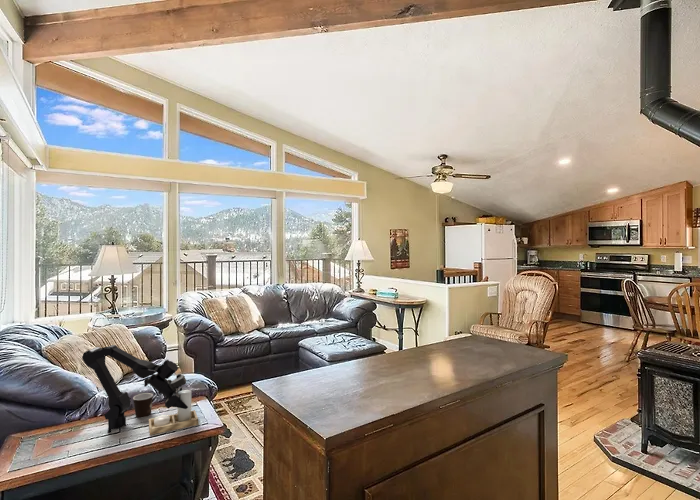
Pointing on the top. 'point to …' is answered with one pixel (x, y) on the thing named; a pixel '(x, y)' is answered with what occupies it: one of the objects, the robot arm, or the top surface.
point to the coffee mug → (143, 404)
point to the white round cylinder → (161, 420)
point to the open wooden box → (173, 424)
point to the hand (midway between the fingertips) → (187, 405)
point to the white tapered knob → (186, 398)
